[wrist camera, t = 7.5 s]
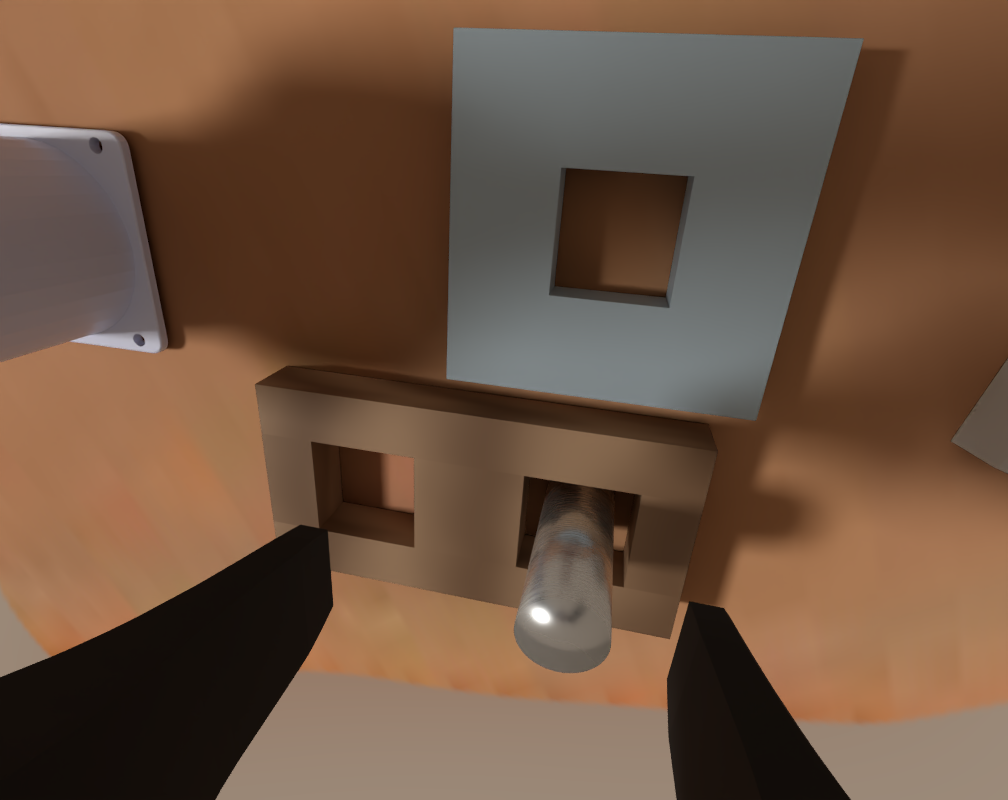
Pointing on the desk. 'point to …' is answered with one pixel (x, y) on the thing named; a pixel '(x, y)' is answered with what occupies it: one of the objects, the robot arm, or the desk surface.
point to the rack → (482, 484)
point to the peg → (569, 581)
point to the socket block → (639, 149)
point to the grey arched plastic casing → (988, 424)
